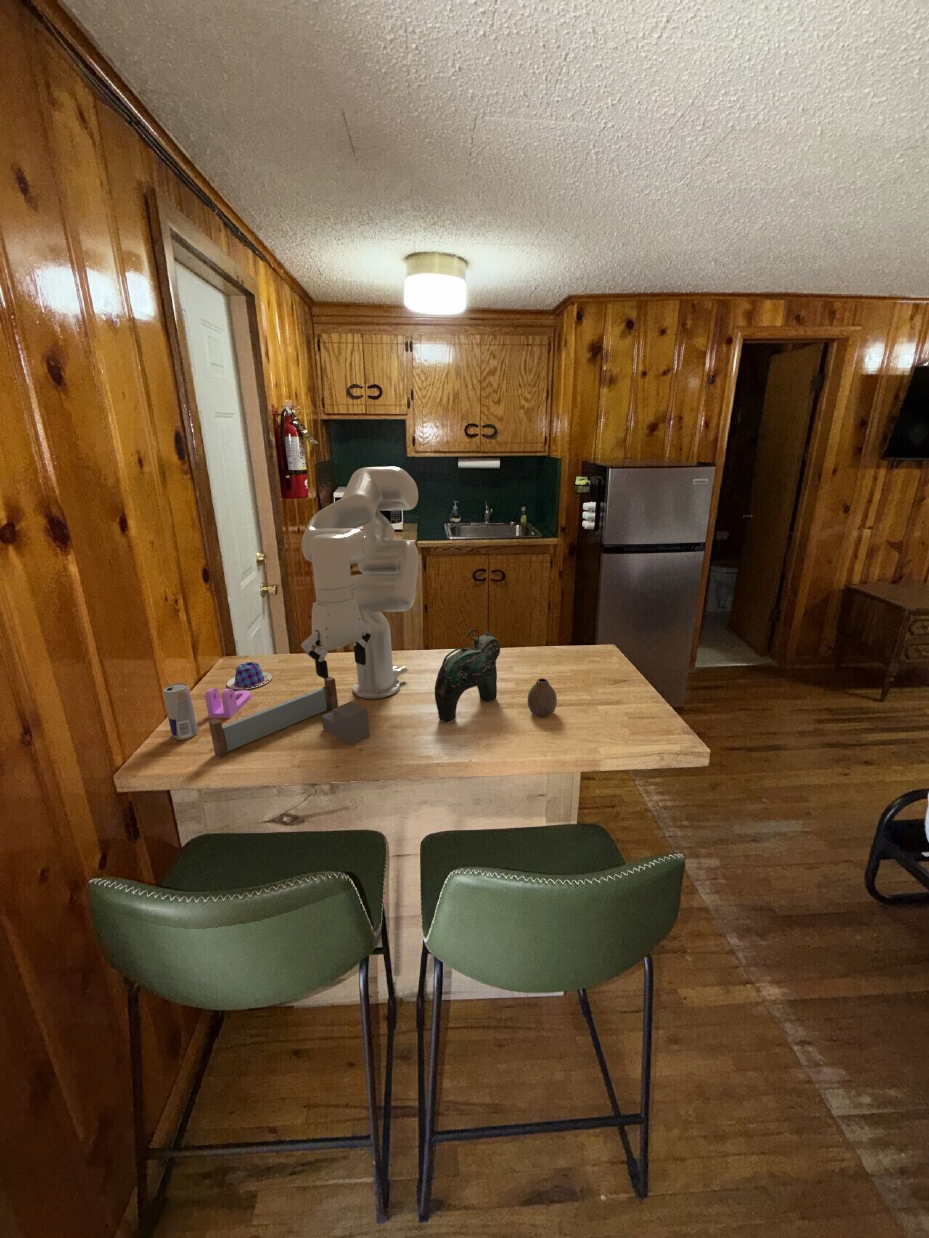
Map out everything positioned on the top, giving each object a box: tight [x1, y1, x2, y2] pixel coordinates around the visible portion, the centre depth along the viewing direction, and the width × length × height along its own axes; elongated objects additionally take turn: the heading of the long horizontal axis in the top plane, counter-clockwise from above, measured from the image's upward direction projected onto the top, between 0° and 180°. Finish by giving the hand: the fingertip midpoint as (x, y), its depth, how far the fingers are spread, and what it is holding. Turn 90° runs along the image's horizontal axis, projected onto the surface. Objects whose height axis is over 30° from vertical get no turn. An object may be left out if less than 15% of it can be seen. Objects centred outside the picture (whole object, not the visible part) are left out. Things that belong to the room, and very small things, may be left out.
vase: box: [527, 677, 558, 718], centre depth 128 cm, size 7×7×9 cm
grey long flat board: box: [222, 685, 330, 752], centre depth 125 cm, size 26×1×6 cm, turn 137°
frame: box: [208, 675, 339, 759], centre depth 125 cm, size 30×2×8 cm, turn 137°
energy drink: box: [162, 682, 199, 741], centre depth 123 cm, size 5×5×12 cm
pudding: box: [226, 661, 273, 690], centre depth 152 cm, size 12×12×5 cm
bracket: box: [204, 688, 252, 719], centre depth 137 cm, size 13×6×7 cm, turn 174°
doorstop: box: [321, 700, 370, 746], centre depth 122 cm, size 5×11×7 cm, turn 47°
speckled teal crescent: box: [434, 628, 501, 724], centre depth 130 cm, size 20×6×20 cm, turn 135°
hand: (342, 670), depth 117 cm, fingers open, 9 cm apart
